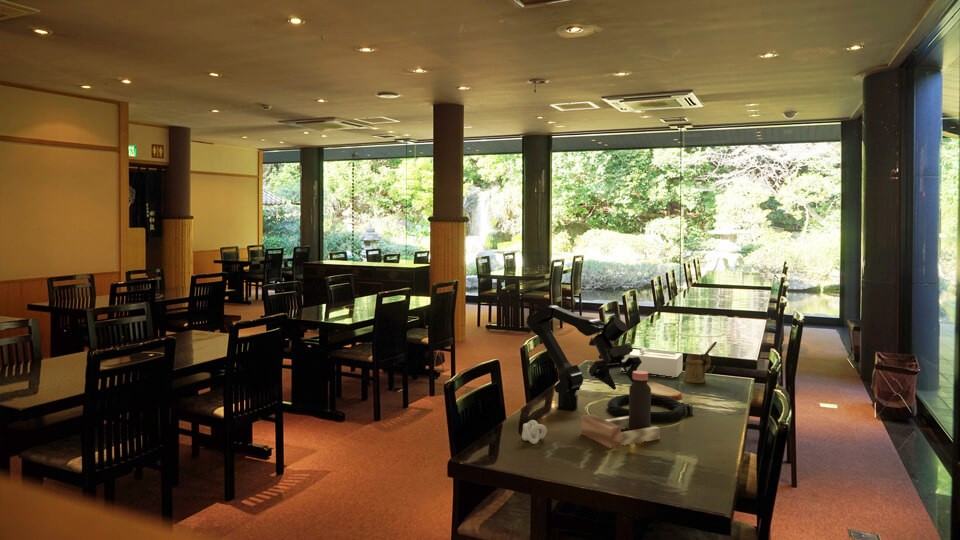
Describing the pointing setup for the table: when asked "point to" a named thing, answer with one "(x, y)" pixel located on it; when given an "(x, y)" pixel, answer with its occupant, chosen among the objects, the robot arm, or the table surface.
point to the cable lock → (675, 414)
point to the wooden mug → (697, 366)
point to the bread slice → (664, 391)
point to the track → (615, 431)
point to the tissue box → (658, 361)
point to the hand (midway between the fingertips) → (626, 387)
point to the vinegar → (639, 401)
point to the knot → (529, 431)
